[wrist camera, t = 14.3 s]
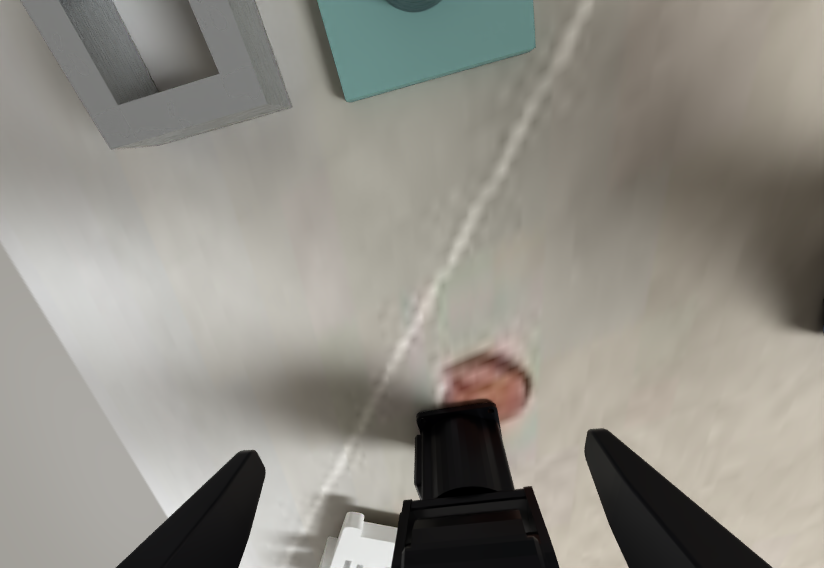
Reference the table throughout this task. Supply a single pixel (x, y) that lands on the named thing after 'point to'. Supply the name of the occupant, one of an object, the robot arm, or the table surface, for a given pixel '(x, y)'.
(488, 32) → the rubber mat
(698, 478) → the table surface
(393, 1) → the steel rod
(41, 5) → the collar
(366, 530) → the organizer
